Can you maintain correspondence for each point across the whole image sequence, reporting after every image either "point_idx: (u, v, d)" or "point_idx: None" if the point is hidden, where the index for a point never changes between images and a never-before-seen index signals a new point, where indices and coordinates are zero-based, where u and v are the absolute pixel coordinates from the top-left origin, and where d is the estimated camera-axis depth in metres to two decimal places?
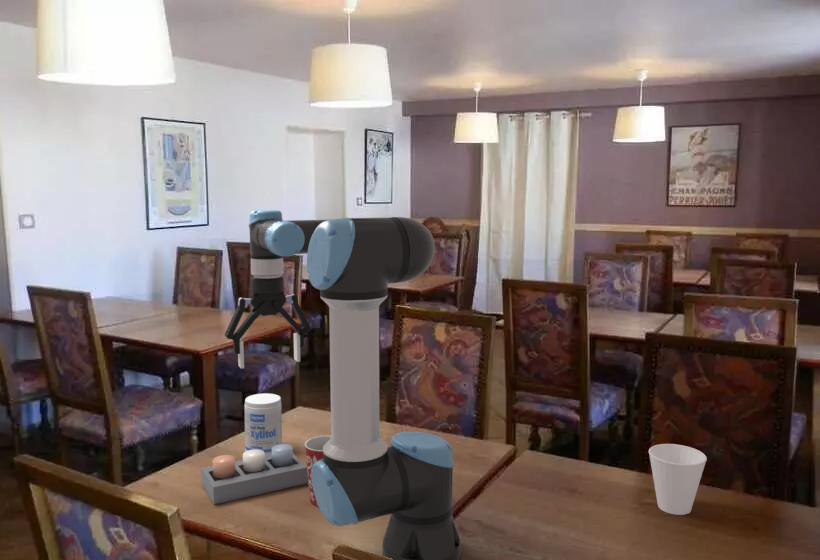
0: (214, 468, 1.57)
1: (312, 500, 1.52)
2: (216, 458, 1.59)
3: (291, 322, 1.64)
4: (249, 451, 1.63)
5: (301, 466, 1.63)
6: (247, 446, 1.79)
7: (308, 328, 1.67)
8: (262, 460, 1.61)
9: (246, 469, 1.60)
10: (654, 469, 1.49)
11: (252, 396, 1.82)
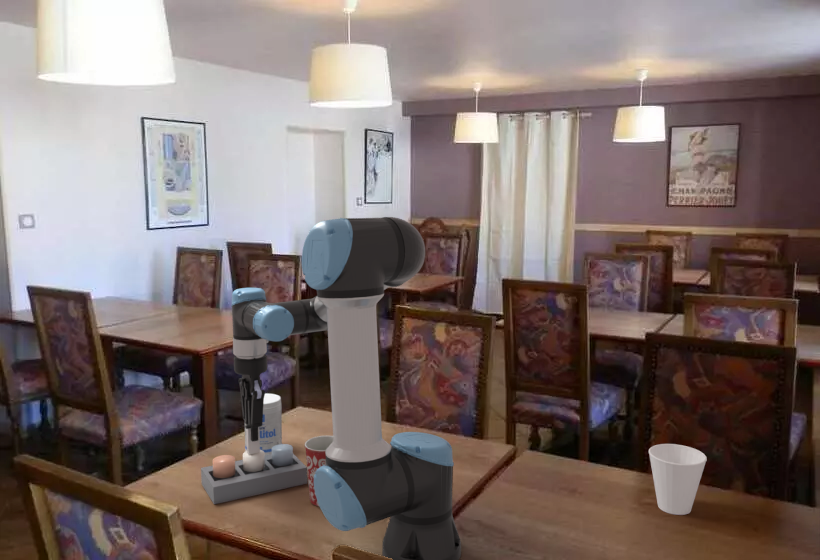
0: (214, 468, 1.57)
1: (312, 500, 1.52)
2: (216, 458, 1.59)
3: (248, 410, 1.59)
4: None
5: (301, 466, 1.63)
6: None
7: (251, 424, 1.58)
8: (262, 460, 1.61)
9: (246, 469, 1.60)
10: (654, 469, 1.49)
11: None
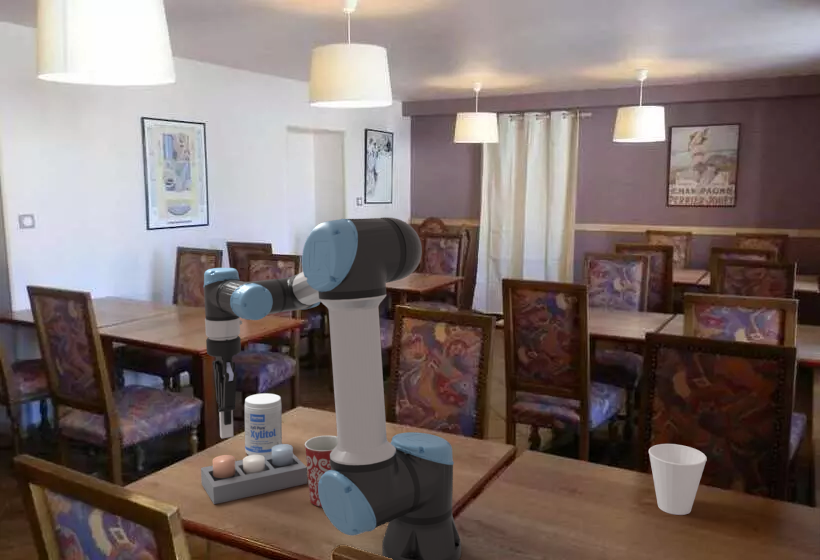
0: (214, 468, 1.57)
1: (312, 500, 1.52)
2: (216, 458, 1.59)
3: (221, 393, 1.56)
4: (249, 456, 1.63)
5: (301, 466, 1.63)
6: (247, 446, 1.79)
7: (223, 407, 1.54)
8: (262, 465, 1.61)
9: (246, 474, 1.61)
10: (654, 469, 1.49)
11: (252, 396, 1.82)
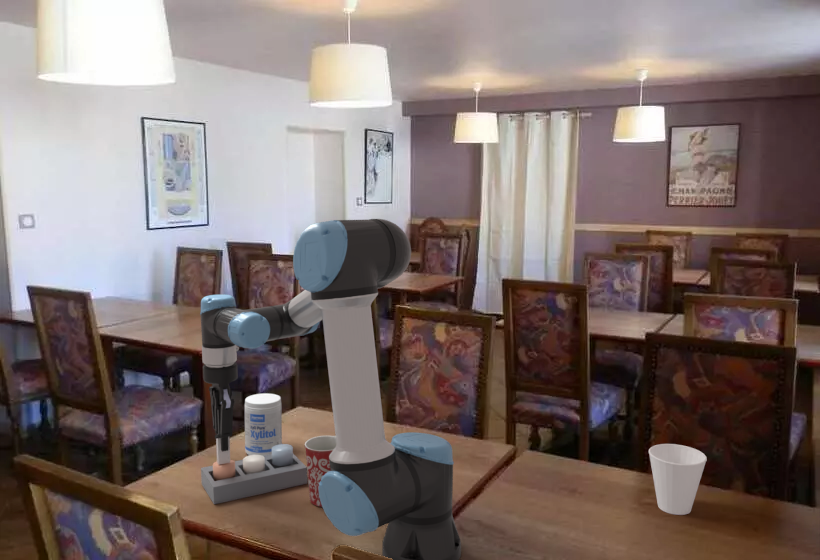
0: (214, 472, 1.57)
1: (312, 500, 1.52)
2: (216, 462, 1.59)
3: (218, 419, 1.56)
4: (249, 456, 1.63)
5: (301, 466, 1.63)
6: (247, 446, 1.79)
7: (220, 434, 1.54)
8: (262, 465, 1.61)
9: (246, 474, 1.61)
10: (654, 469, 1.49)
11: (252, 396, 1.82)
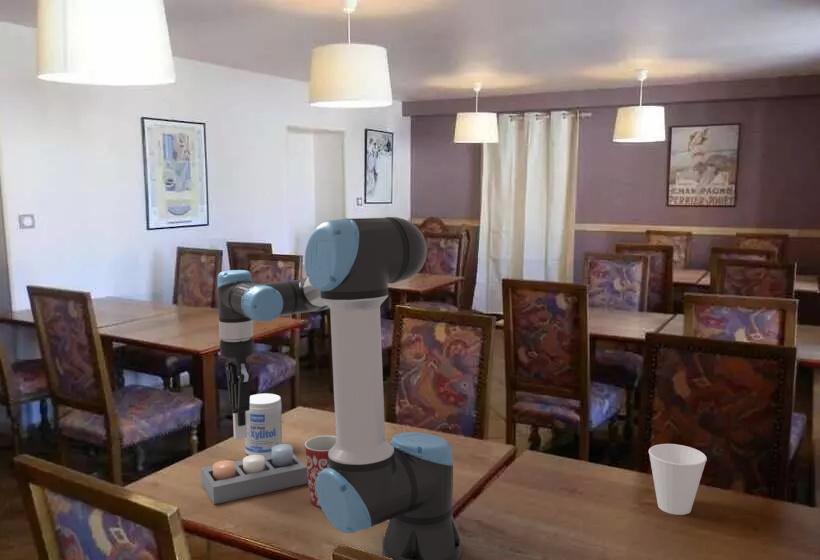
0: (214, 473, 1.57)
1: (312, 500, 1.52)
2: (216, 463, 1.59)
3: (235, 394, 1.57)
4: (249, 456, 1.63)
5: (301, 466, 1.63)
6: (247, 446, 1.79)
7: (237, 408, 1.55)
8: (262, 465, 1.61)
9: (246, 474, 1.61)
10: (654, 469, 1.49)
11: (252, 396, 1.82)
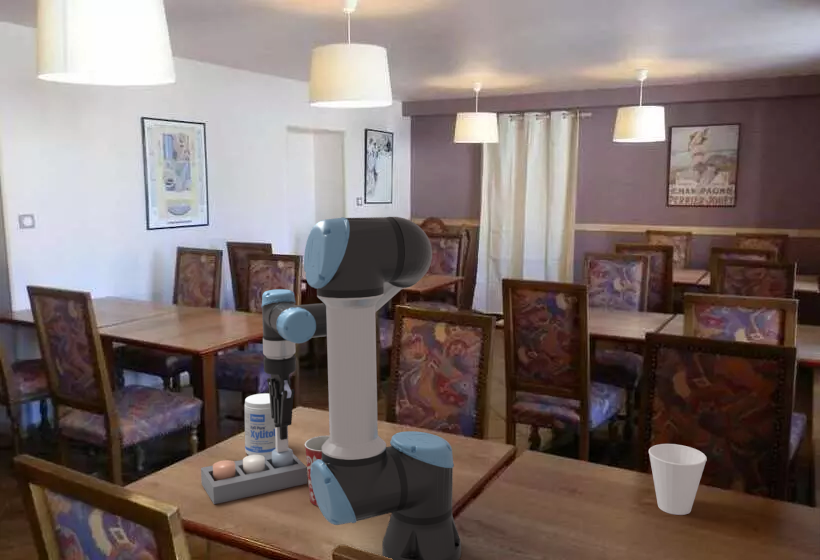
0: (214, 473, 1.57)
1: (312, 500, 1.52)
2: (216, 463, 1.59)
3: (277, 409, 1.63)
4: (249, 456, 1.63)
5: (301, 466, 1.63)
6: (247, 446, 1.79)
7: (280, 423, 1.61)
8: (262, 465, 1.61)
9: (246, 474, 1.61)
10: (654, 469, 1.49)
11: (252, 396, 1.82)
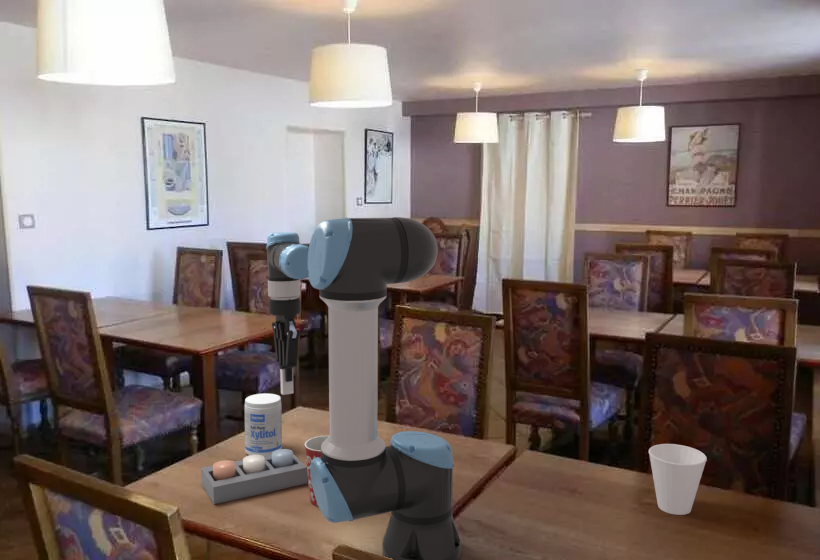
0: (214, 473, 1.57)
1: (312, 500, 1.52)
2: (216, 463, 1.59)
3: (282, 351, 1.64)
4: (249, 456, 1.63)
5: (301, 466, 1.63)
6: (247, 446, 1.79)
7: (285, 364, 1.63)
8: (262, 465, 1.61)
9: (246, 474, 1.61)
10: (654, 469, 1.49)
11: (252, 396, 1.82)
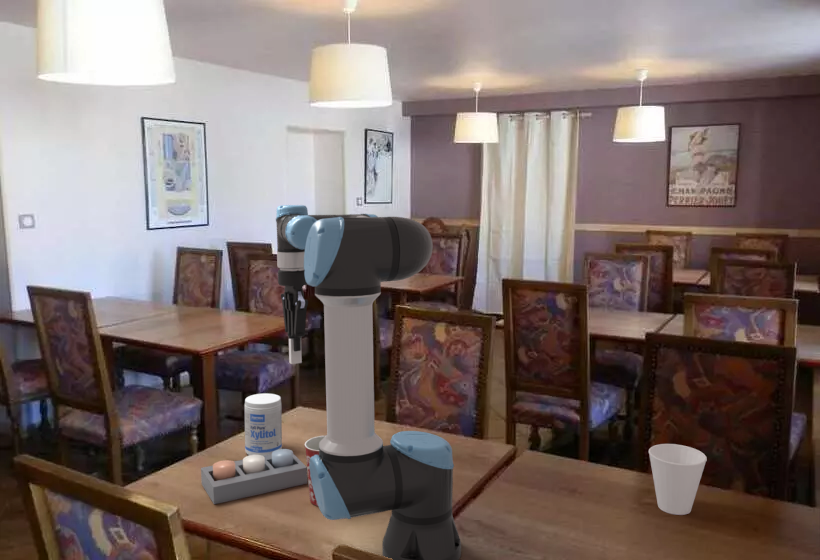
0: (214, 473, 1.57)
1: (312, 500, 1.52)
2: (216, 463, 1.59)
3: (291, 321, 1.68)
4: (249, 456, 1.63)
5: (301, 466, 1.63)
6: (247, 446, 1.79)
7: (294, 334, 1.66)
8: (262, 465, 1.61)
9: (246, 474, 1.61)
10: (654, 469, 1.49)
11: (252, 396, 1.82)
